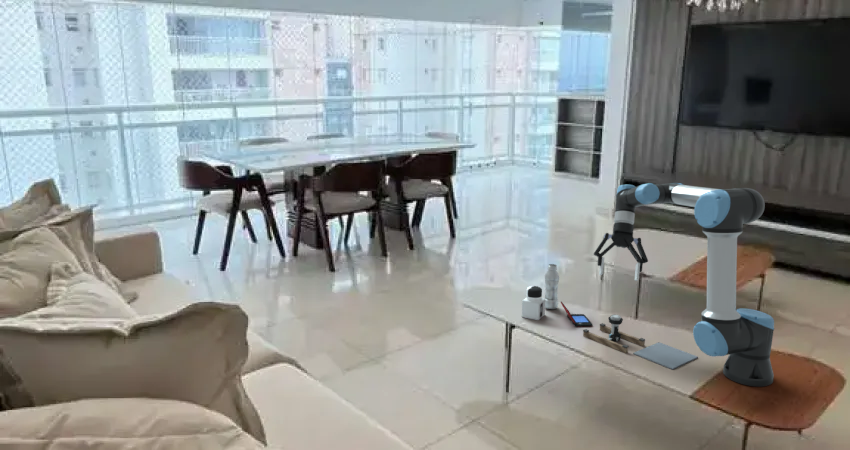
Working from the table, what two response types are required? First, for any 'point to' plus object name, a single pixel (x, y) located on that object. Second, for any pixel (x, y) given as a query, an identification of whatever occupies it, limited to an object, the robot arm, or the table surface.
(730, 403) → the table surface
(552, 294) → the plastic bottle
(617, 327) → the push button
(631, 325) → the table surface
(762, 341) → the robot arm
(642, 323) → the table surface
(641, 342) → the rails
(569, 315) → the handheld game console
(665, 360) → the slate mat
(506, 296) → the table surface
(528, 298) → the container
